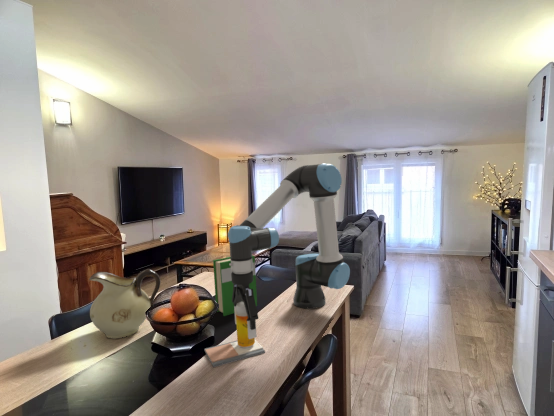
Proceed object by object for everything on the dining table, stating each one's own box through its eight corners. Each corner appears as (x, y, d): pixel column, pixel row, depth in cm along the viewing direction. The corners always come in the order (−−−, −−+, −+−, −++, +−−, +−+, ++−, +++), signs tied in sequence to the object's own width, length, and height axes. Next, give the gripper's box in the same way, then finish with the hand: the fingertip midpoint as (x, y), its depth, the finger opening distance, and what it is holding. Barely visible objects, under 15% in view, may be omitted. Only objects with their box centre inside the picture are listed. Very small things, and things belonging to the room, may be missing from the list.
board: (252, 338, 128) (251, 335, 128) (264, 352, 117) (264, 349, 117) (204, 351, 120) (204, 347, 120) (213, 367, 110) (213, 363, 110)
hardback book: (224, 316, 151) (220, 262, 149) (216, 311, 157) (213, 260, 155) (257, 305, 161) (254, 255, 159) (248, 301, 167) (246, 253, 165)
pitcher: (79, 338, 135) (73, 276, 133) (128, 316, 156) (124, 262, 154) (119, 349, 125) (114, 282, 123) (165, 323, 146) (162, 266, 144)
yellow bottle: (252, 349, 117) (250, 307, 116) (235, 348, 119) (233, 306, 117) (256, 341, 123) (254, 301, 122) (240, 340, 125) (238, 300, 123)
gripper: (221, 265, 128) (224, 320, 130) (244, 281, 106) (247, 347, 107) (240, 262, 131) (243, 315, 133) (266, 277, 109) (269, 342, 111)
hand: (245, 330), depth 120 cm, fingers open, 13 cm apart
